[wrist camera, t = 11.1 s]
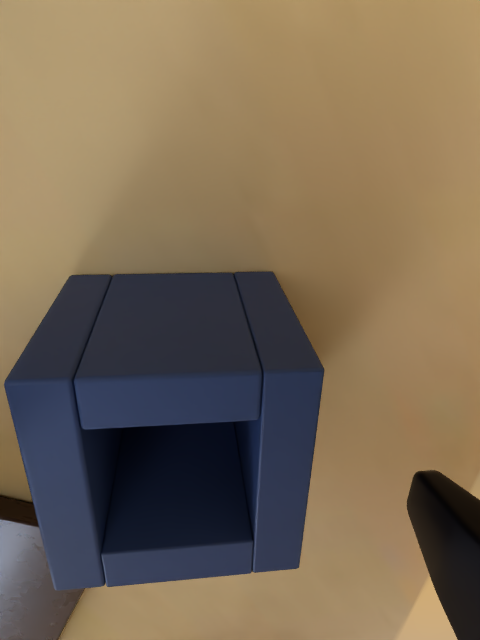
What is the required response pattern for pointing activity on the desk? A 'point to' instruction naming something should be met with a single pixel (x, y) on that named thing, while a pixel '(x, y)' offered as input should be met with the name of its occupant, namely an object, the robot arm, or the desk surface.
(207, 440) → the blue collar
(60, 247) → the desk surface
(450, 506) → the robot arm
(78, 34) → the desk surface
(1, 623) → the dowel stand
